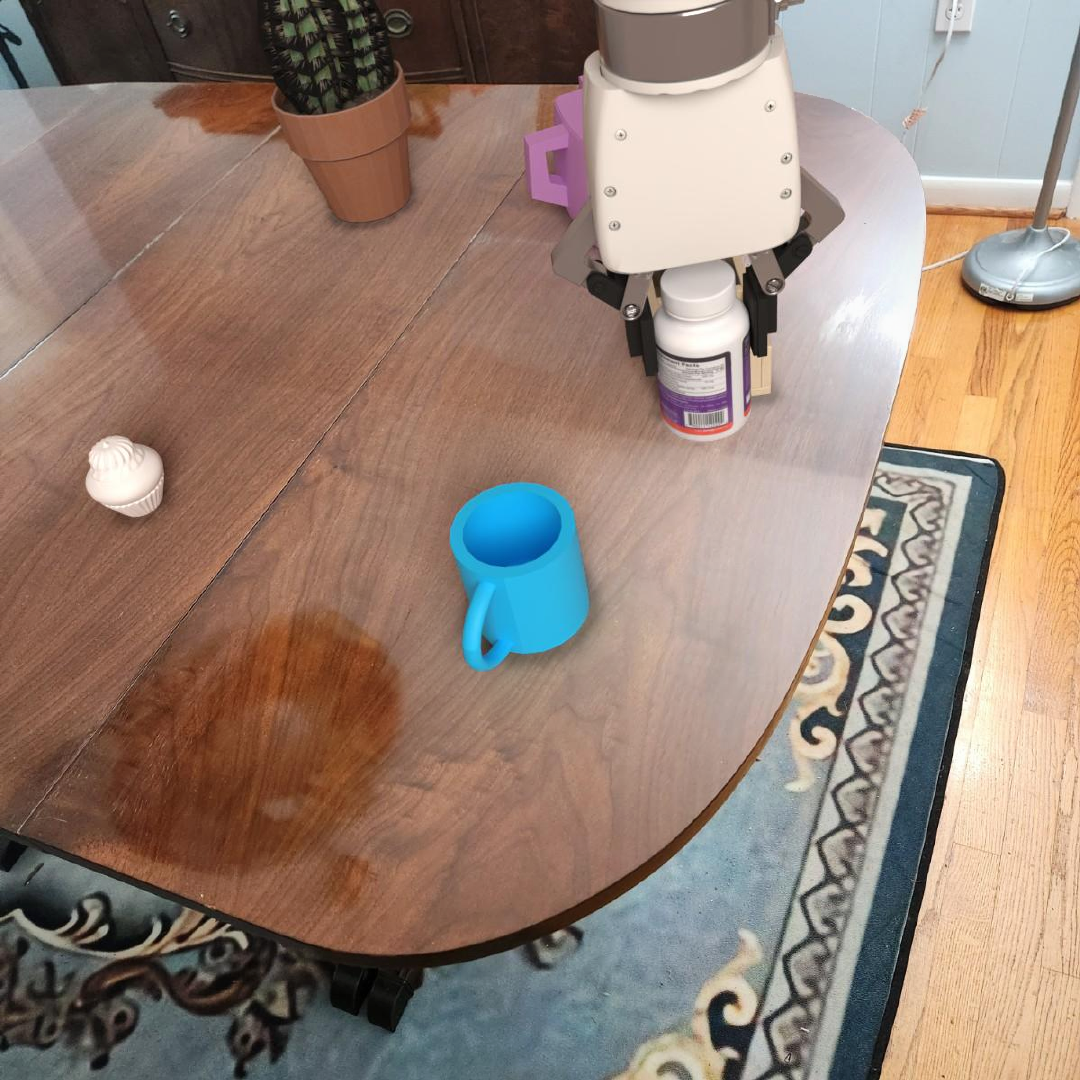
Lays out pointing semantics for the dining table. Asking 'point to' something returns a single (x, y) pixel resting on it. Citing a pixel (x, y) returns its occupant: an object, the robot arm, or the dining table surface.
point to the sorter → (759, 366)
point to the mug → (518, 572)
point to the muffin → (125, 476)
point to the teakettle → (559, 157)
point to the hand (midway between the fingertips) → (701, 349)
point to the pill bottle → (702, 352)
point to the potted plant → (340, 101)
